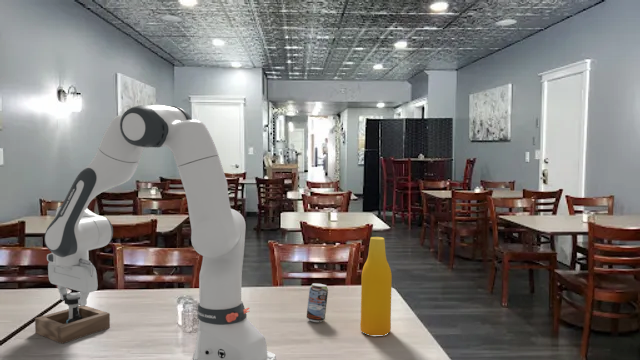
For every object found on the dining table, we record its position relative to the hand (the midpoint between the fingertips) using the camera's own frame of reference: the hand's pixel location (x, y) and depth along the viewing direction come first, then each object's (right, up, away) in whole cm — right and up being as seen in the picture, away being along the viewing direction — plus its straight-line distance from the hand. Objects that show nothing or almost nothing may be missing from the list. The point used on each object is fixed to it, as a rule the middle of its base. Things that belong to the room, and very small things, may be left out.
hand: (73, 302), depth 147 cm
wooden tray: (0, -9, 0) cm, 9 cm away
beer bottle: (+91, -10, +3) cm, 92 cm away
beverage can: (+73, -9, +12) cm, 75 cm away
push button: (0, -8, 0) cm, 8 cm away
